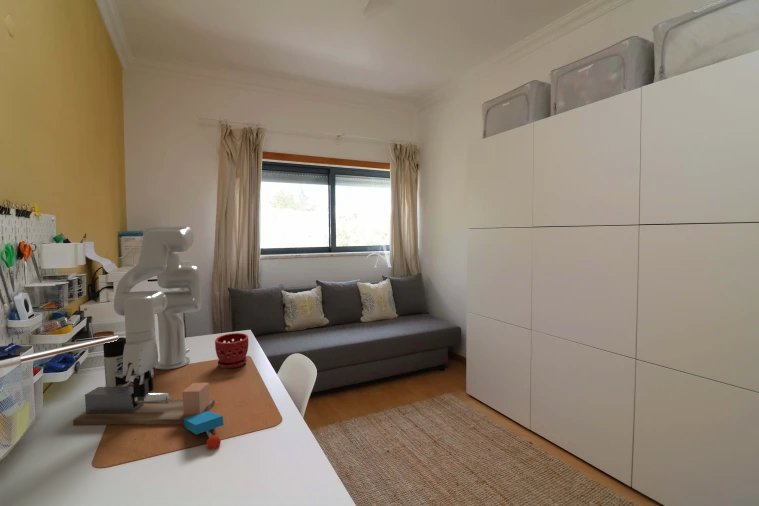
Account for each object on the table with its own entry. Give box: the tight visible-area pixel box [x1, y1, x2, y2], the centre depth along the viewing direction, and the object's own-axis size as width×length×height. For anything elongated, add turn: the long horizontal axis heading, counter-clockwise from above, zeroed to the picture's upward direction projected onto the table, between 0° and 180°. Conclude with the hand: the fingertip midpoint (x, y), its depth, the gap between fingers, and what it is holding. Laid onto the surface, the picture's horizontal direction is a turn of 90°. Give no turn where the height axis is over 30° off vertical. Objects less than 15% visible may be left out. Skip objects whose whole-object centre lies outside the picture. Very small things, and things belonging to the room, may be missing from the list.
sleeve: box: [84, 386, 144, 414], centre depth 108 cm, size 5×14×6 cm, turn 90°
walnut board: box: [72, 399, 216, 426], centre depth 109 cm, size 12×36×2 cm, turn 90°
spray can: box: [102, 337, 131, 387], centre depth 120 cm, size 7×7×20 cm
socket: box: [182, 382, 210, 414], centre depth 109 cm, size 6×5×7 cm
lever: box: [183, 410, 225, 450], centre depth 98 cm, size 7×7×18 cm
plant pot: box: [214, 332, 249, 369], centre depth 148 cm, size 13×13×12 cm
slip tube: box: [133, 378, 172, 404], centre depth 108 cm, size 3×22×8 cm, turn 90°
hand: (143, 393), depth 108 cm, fingers closed on slip tube, 3 cm apart
